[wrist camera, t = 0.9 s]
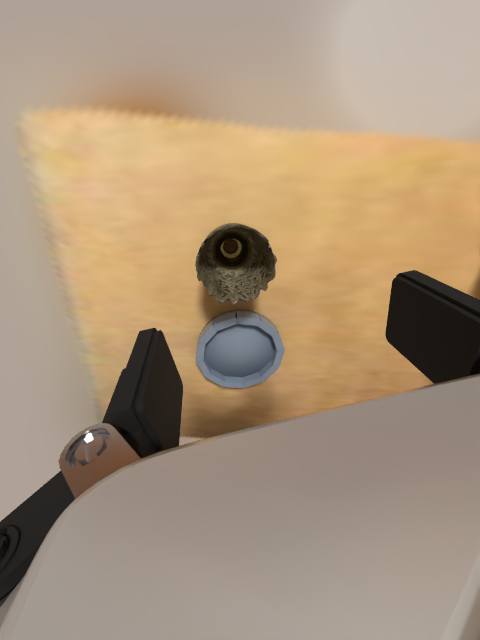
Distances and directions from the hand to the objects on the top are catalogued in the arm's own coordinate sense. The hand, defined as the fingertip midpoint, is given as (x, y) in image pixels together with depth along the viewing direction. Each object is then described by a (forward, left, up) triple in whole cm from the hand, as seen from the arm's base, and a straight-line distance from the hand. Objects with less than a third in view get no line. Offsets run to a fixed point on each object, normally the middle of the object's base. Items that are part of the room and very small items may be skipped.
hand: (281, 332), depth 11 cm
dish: (+5, +16, -23) cm, 28 cm away
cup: (+1, +2, -23) cm, 23 cm away
